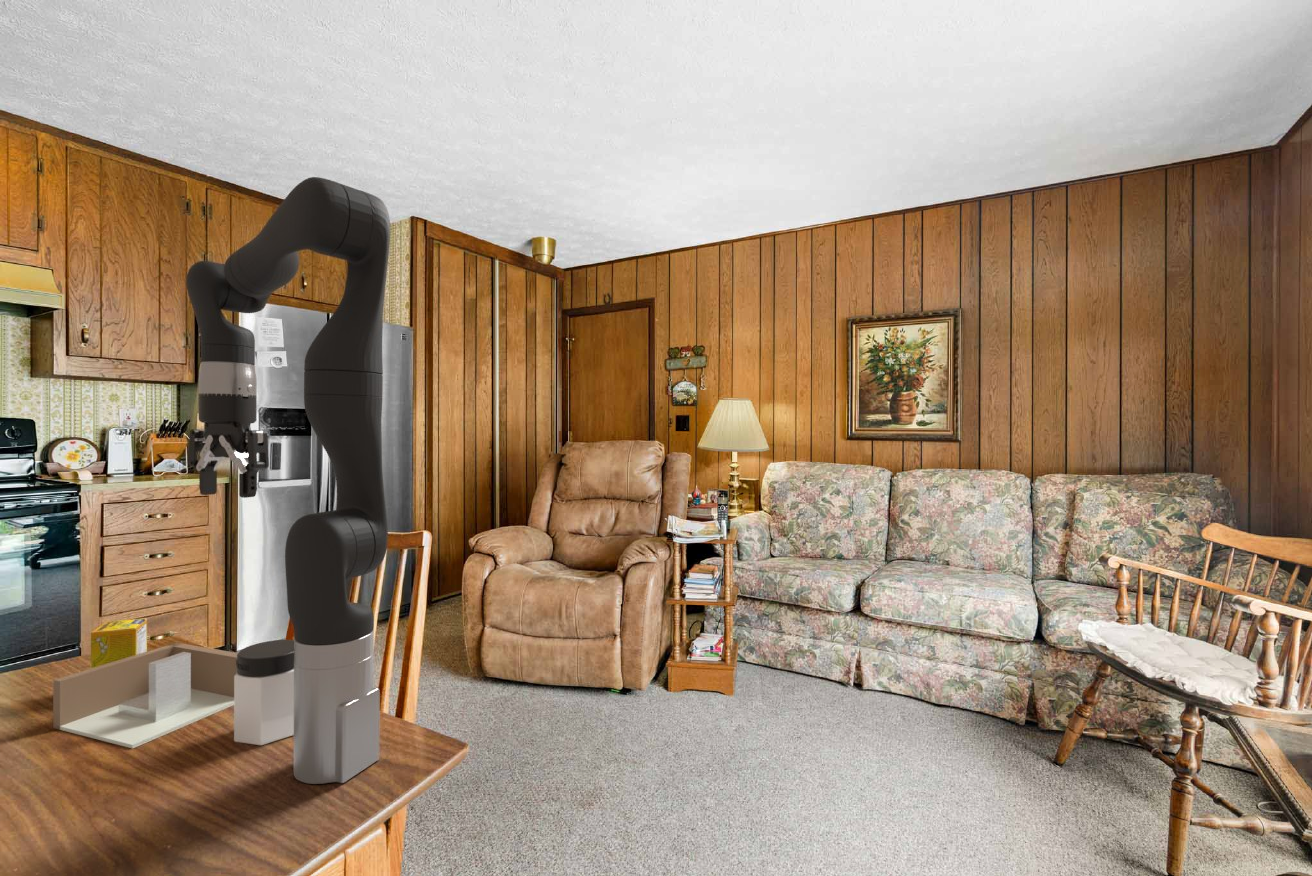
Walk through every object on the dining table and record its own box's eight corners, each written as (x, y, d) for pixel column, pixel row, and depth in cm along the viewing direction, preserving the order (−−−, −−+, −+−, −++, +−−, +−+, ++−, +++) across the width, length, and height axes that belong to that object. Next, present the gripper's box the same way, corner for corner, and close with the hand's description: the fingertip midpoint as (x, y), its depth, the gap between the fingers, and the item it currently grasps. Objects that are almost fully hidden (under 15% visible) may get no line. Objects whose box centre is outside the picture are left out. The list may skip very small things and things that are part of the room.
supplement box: (103, 686, 105) (103, 621, 105) (148, 680, 107) (148, 617, 107) (89, 700, 99) (89, 632, 99) (136, 693, 102) (136, 627, 102)
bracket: (190, 707, 96) (190, 653, 96) (155, 722, 91) (155, 664, 91) (154, 700, 98) (154, 646, 98) (118, 713, 94) (118, 657, 94)
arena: (249, 698, 101) (250, 655, 101) (132, 748, 85) (132, 697, 85) (176, 683, 106) (176, 642, 106) (53, 728, 90) (53, 680, 90)
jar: (248, 720, 93) (248, 641, 93) (309, 714, 95) (309, 636, 95) (226, 750, 84) (226, 662, 84) (293, 742, 87) (294, 656, 87)
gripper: (171, 391, 96) (171, 496, 97) (238, 390, 92) (238, 500, 92) (219, 394, 103) (218, 491, 104) (283, 393, 99) (283, 495, 99)
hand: (227, 495), depth 98 cm, fingers open, 8 cm apart
